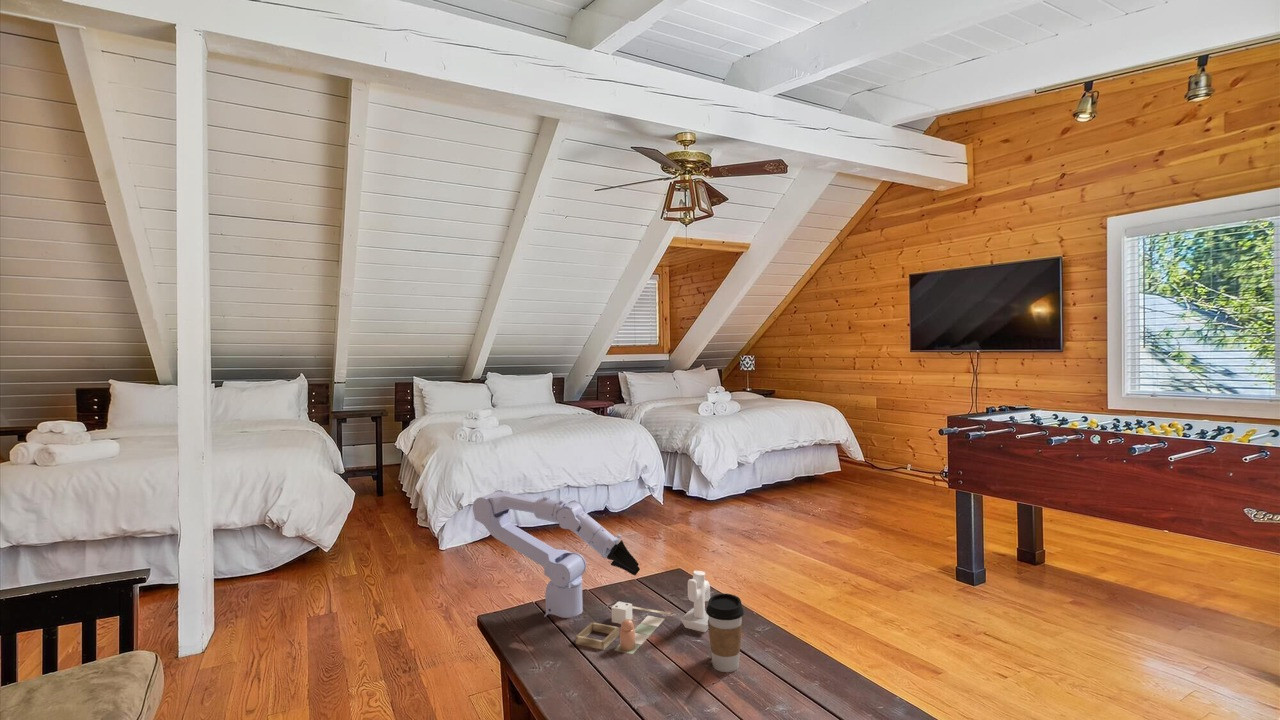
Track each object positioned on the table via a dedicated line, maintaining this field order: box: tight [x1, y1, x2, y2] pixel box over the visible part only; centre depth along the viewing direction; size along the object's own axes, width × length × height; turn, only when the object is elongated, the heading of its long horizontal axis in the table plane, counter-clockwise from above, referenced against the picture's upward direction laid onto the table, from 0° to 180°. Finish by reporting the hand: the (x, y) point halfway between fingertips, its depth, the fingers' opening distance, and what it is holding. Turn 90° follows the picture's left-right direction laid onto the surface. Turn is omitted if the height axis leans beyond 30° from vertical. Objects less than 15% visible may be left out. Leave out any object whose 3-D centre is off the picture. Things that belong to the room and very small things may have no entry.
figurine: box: [680, 570, 711, 633], centre depth 165 cm, size 7×9×15 cm
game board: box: [575, 605, 672, 655], centre depth 164 cm, size 15×26×3 cm, turn 156°
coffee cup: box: [705, 593, 745, 673], centre depth 148 cm, size 8×8×15 cm
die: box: [610, 601, 633, 625], centre depth 169 cm, size 4×4×4 cm
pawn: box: [619, 619, 636, 651], centre depth 154 cm, size 4×4×7 cm
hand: (636, 570), depth 166 cm, fingers open, 7 cm apart
